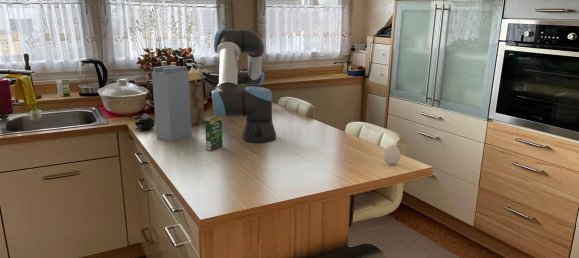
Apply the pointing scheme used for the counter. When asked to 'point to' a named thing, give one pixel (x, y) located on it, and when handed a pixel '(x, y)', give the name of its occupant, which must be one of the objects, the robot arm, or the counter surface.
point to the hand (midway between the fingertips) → (194, 70)
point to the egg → (392, 154)
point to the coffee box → (213, 133)
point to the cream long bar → (196, 75)
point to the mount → (171, 102)
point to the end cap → (144, 123)
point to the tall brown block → (196, 102)
